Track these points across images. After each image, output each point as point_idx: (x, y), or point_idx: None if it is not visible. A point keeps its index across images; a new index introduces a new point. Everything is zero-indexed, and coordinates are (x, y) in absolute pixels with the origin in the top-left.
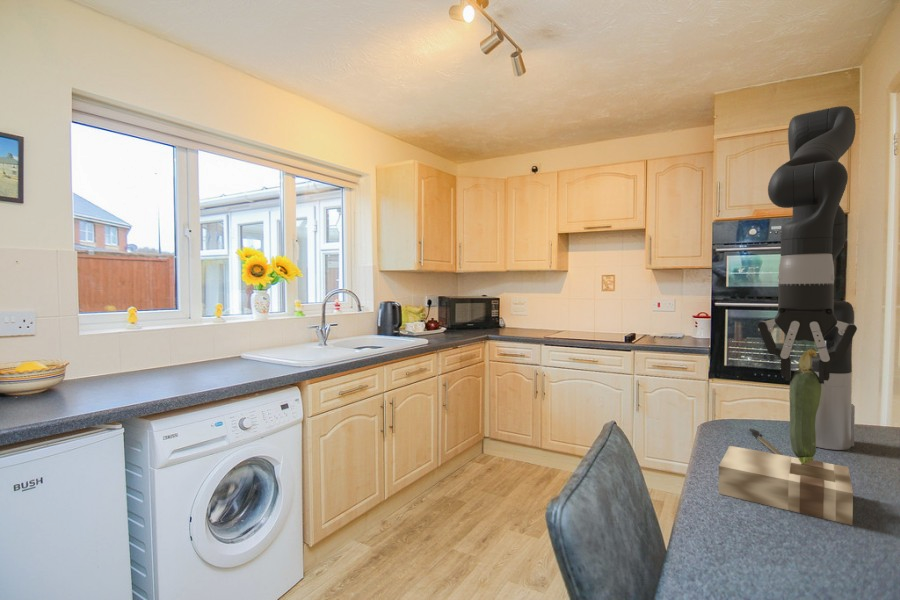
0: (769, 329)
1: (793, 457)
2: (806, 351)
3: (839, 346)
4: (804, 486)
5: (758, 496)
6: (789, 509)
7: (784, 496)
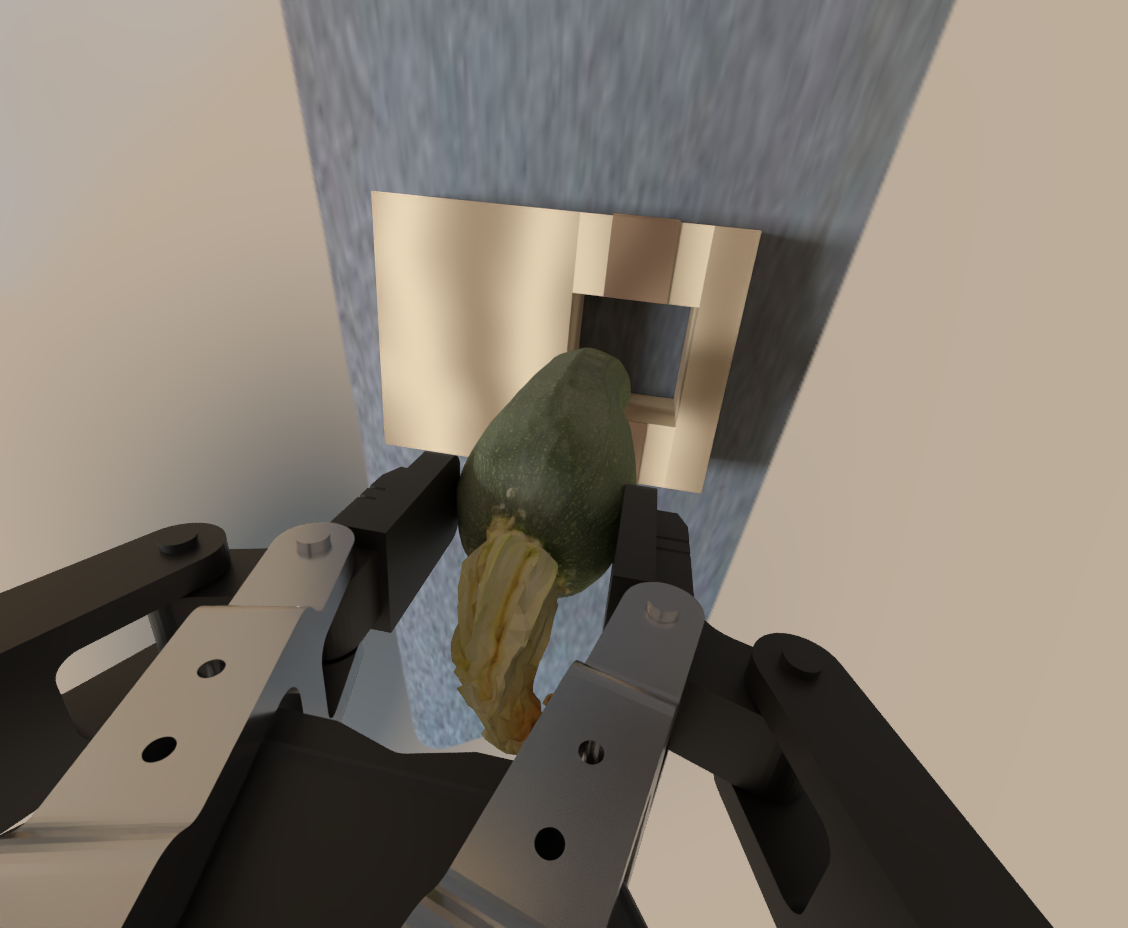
0: None
1: (585, 216)
2: (478, 710)
3: (775, 889)
4: None
5: None
6: None
7: None
